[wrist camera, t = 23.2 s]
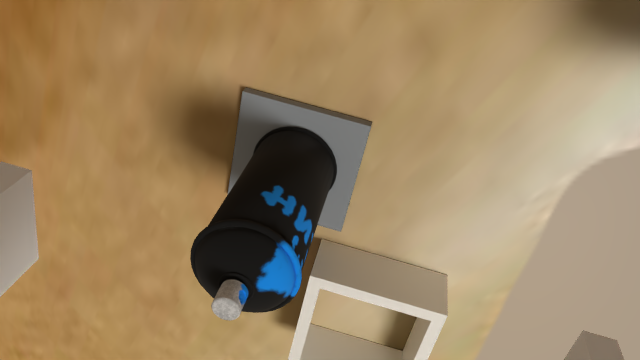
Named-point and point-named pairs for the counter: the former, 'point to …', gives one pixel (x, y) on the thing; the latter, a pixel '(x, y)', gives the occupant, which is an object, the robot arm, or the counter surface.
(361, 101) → the counter surface
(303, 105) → the pad
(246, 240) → the aerosol can
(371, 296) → the white open tray
